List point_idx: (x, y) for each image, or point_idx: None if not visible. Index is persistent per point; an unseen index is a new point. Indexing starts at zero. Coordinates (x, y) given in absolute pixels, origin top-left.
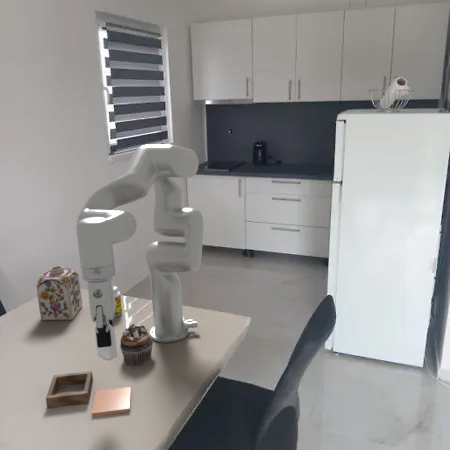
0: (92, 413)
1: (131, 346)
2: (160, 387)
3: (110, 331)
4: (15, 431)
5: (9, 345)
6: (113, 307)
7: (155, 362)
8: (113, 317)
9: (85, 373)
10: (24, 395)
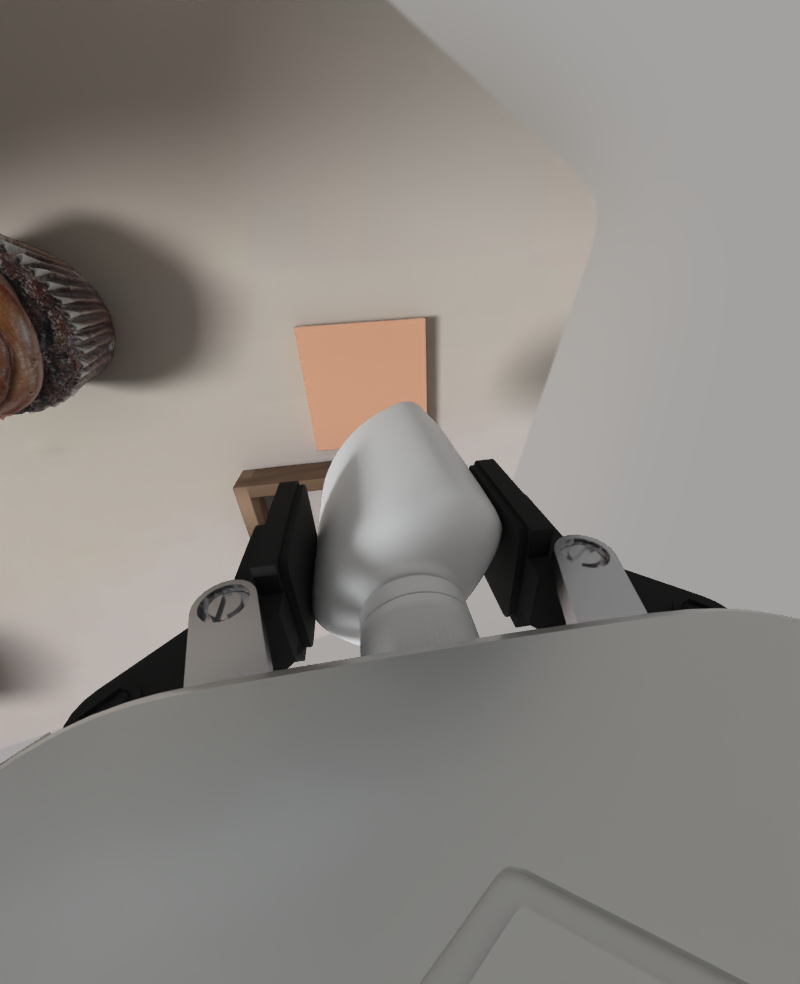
0: None
1: (40, 349)
2: (277, 180)
3: (489, 517)
4: None
5: None
6: (793, 863)
7: (57, 213)
8: (757, 622)
9: (250, 504)
10: None
